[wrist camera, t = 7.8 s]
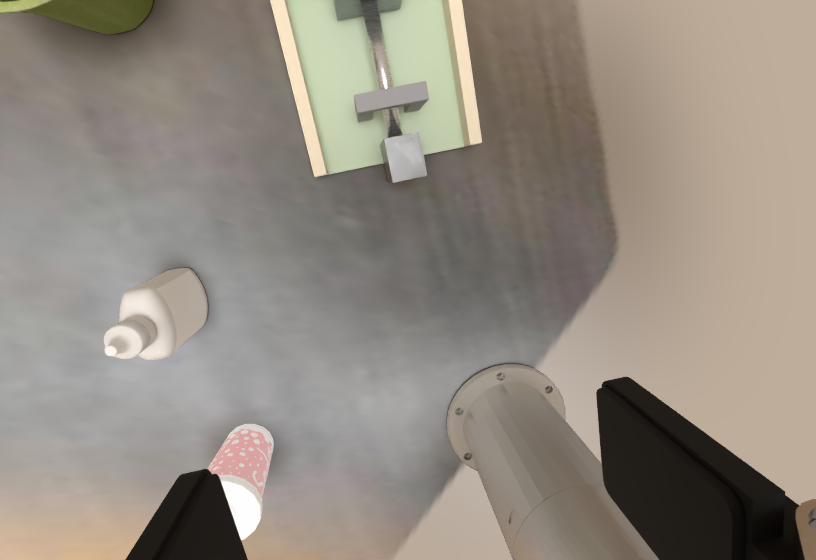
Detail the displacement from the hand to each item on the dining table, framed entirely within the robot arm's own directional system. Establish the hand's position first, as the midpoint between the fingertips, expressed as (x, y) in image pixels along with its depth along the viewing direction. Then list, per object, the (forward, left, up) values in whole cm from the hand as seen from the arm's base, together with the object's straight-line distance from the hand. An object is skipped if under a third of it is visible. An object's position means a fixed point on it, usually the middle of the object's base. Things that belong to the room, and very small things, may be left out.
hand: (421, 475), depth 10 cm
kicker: (+13, -4, -28) cm, 31 cm away
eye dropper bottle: (0, +18, -30) cm, 34 cm away
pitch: (+18, -4, -30) cm, 35 cm away
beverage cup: (-16, +16, -30) cm, 38 cm away
